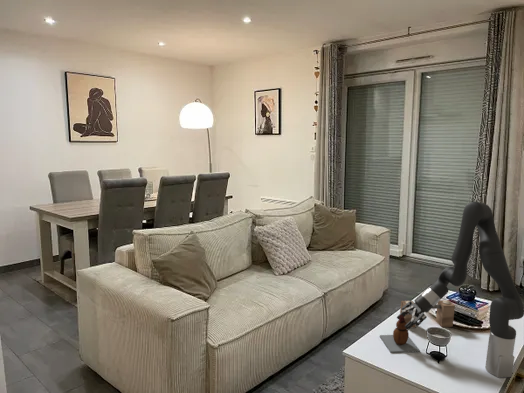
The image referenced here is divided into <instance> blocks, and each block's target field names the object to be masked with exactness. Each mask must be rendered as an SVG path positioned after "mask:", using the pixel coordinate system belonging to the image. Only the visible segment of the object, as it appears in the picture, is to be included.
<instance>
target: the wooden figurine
mask: <svg viewBox="0 0 524 393" xmlns="http://www.w3.org/2000/svg"><path fill="white" fill-rule="evenodd" d="M406 324H407V322H405V318H404V317H403V315H402V316H401V315H400V318H399V319H397V321H396V324H395V326H396V327H395V328H394V330H393V332H392V335H393V338H394V341H395V343H396V344H399V345H404V344H406V342H407V340H408V336H409V337H410V335H409V334H410V333H409V329H406V328H405V325H406Z"/></svg>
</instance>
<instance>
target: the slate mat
mask: <svg viewBox="0 0 524 393" xmlns="http://www.w3.org/2000/svg"><path fill="white" fill-rule="evenodd" d="M379 338H380V339H381V341H382V342H383V344H384V346H385V347H386V348H387V350H388V351H389V353H390V354H401V353H405V354H406V353H421V350H420V348H419V347H418V346H417V345H416V343H415V342H414V341H413V340H412V339H411V337H410V335H409V336H408V340H407V342H406V344H404V345H399V344H396V343H395V341H394V338H393V334H379Z"/></svg>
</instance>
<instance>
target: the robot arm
mask: <svg viewBox="0 0 524 393" xmlns="http://www.w3.org/2000/svg"><path fill="white" fill-rule="evenodd" d="M476 228H477V230H478V235H479V244H478V253H479V259H480V261H481V264H482V266H483V269H484V270H485V272H486V273H487V274H488V276H490V277H491V279H493V281H494V282H495V283H496V284H497V286H498V287H499V289H500V290H499V291H500V292H501V295H502V296H501V297H495V298H493V299H492V301H491V303H490V307H489V316H488V317H489V320H488V321H489V334H488V335H489V336H488V344H487V350H486V358H485V359H486V360H485V369H486V371H487V372H488V373H490V375H493V376H495V377H497V378H512V377H513V370H514V364H515V356H514V350H515V343H516V337H517V330H516V329H515V328H514V327H513V326H511V325H509V323H510V321H512V320H520V319H522V318H523V317H524V303H523V301H522V298H521V295H520V293H519V292H518V290H517V288H516V285H515V283H514V280H513V278H512V277H513V276H512V273H511V271H510V269H509V265H508V263H507V262H508V261H507V259H506V256H505V255H506V254H505V253H504V250H503V247H502V244H501V241H500V239H499V236H498V235H499V234H498V233H497V229H496V224H495V220H494V214H493V210H492V208H491V207H490V206H489V205H488V204H487V203H483V202H478V201H470V202H468V203H466V205H465V206H464V208H463V212H462V217H461V222H460V227H459V234H458V237H457V241H456V244H455V247H454V249H453V252H452V255H451V259H450V260H451V262H452V263H453V266H447V267H445V268H444V269H442V271H441V272H440V274H439V275H438V277H437V278H436V280H435V282H433V283H432V284H431V285H430V286H429V287H428V288H426V289H425V290H424V291H423V292H421V294H419V296H417V297H416V298H415V299H414V301H413V302H414V304H413V303H412V302H411V301H412V300H408V301H409V302H408V303H407V304H406V305H404V306H403V307H402V308H401V307H400V309H402V312H401V313H400V312H399V314H398V315H397V316H396V319H397V320H399V318H400V315H401V316H402V315H403V317H405V315H408V314H410V315H412V319H411V321H409V322H408V323H407V324H406V325H405V328H406V329H407V330H410V329H411V327H412V326H413V325H416V326H418V327H419V326H420V325H421V324H422V323H423V322H424V321H425V320H426V319H427V315H426V314H425V313H429V312H430V310H433V309H432V308H433V307H434V306H435V305H437V304H438V302H439V301H440V300H442V299H443V298H444V297H446V295H447V294H448V293H449V288H448V286H449V283H450V284H451V285H452V286H455V287H460V286H462V285H463V284H464V283H465V282H466V279H467V273H468V263H469V261H470V257H471V255H472V252H473V247H474V234H475V230H476ZM406 307H407V308H406ZM405 308H406V309H405Z"/></svg>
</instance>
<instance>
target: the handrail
mask: <svg viewBox="0 0 524 393" xmlns="http://www.w3.org/2000/svg"><path fill="white" fill-rule="evenodd" d="M409 301H411V302H412V303H413V304H414V303H415V301H413V300H401V301H400V309H399V314H400V313H401V312H402V309H401V308H402V307H403V306H404V305H406V304H407V303H408V302H409ZM406 308H407V307H406ZM406 308H405V309H406ZM455 308H456V305H455V304H454V303H453V302H451V300H446V299H444V300H442V299H441V300H440V301H439V302H438V303H437V304H436V305H435V306H434V307H433V308H432V309H431V310H434V309H435V310H436V315H435V322H436V324H438V325H439V326H440V327H441V328H453V327H454V326H453V325H454V316H455V311H456V310H455ZM404 318H405V322H407V323H408V322H409V321H411V319H412V315H410V314H408V315H405V317H404ZM416 326H417V325H413V326H412V327H411V328H412V329H413V328H416ZM411 328H410V329H411Z"/></svg>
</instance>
